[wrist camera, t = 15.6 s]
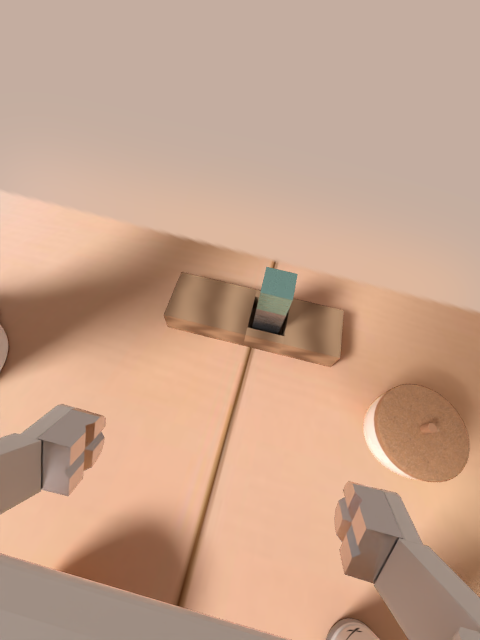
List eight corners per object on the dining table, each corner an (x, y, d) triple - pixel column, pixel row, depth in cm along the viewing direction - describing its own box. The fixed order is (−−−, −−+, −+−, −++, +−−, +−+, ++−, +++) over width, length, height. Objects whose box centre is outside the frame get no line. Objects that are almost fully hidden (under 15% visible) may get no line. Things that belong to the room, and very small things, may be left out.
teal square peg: (250, 333, 46) (260, 292, 35) (255, 312, 48) (266, 266, 37) (275, 339, 46) (292, 300, 35) (279, 318, 48) (297, 274, 37)
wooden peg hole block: (167, 326, 46) (163, 314, 42) (184, 286, 50) (181, 271, 46) (330, 367, 45) (340, 358, 41) (334, 322, 48) (343, 310, 45)
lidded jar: (387, 497, 37) (436, 505, 29) (335, 421, 41) (365, 409, 33) (443, 451, 40) (502, 446, 32) (389, 384, 44) (429, 364, 36)
